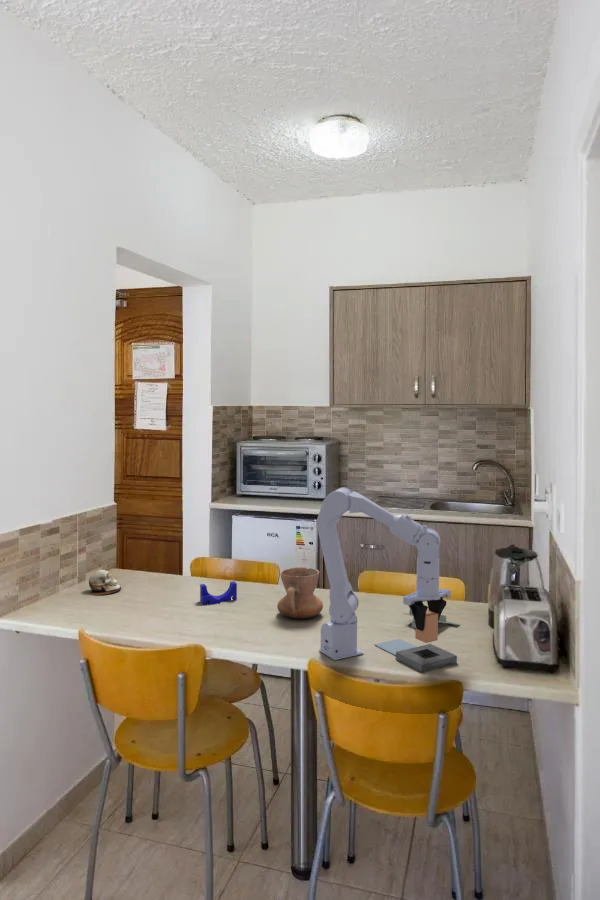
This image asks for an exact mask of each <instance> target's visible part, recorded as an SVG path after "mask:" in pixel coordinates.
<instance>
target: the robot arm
mask: <svg viewBox="0 0 600 900" xmlns="http://www.w3.org/2000/svg"><path fill="white" fill-rule="evenodd" d="M348 511H349V514H355V513H356V514H357V513H363V514H364V515H366V516H368V517H370V518H372V519H374V520H376V521H378V522H380V523H382V524H384V525H386V526H387V527H389V530H390V533H391V534H392V535H394V536H396V537H397V538H399V539H401V540H403V541H404V542H406V543H408V544H410V545H411V546H415V547H416V549H417V559H416V583H415V584H416V585H415V588H416V590H415V592H412V593H409V594H407V595H404V596H403V600H402V601H403V602H402V603H403V605H404V606H405V605H406V606H408V607H409V610H410V609H411V611H412V614H413V616H412V617H414V620H415V624H416V629H418V630H420V631H423V630H424V625H425V615H426V611H427V610H430V611H432V612H435V613H437V614H438V623H440V622H439V618H440V615H442V612H443V611H444V609H445V608H446V606H447V600H445V598H446V599H450V598H451V594H452V593H451V590H450V589H446V588H442V589H440V561H441V560H440V551H439V550H440V544H441V537H440V534H439V533H438V532H437V531H436V530H435V529H434V528H432V527H428V526H427V525H426V524H423V525H422V524H421V523H419V522H417V521H415V520H413V519H412V516H411V515H409V514H408V513H407V514H406V515H404V514H397V515H394V514H393V513H391V512H390V511H388V510H387V509H386V508H384V507H382V506H380V505H379V504H377V503H375V502H374V501H372V500H370V499H369V498H368V497H366V496H364V495H362V494H361V493H359V492H356V491H352V490H351V489H350V488H348V487H344V486H343V487H342V486H341V487H339V488H337V489H336V490H333V491H331V492H330V493H328V494H327V496H325V497H324V499H323V501H321V507H320V510H319V513H318V515H317V519H316V522H315V523H316V528H317V533H318V537H319V541H320V546H321V547H320V548H321V550H322V551H321V552H322V555H323V559H324V565H325V569H326V573H327V578H328V581H329V582H328V583H329V587H330V588H329V600H330V601H329V603H330V604H329V609H328V613H329V616H330V619H329V620H328V621H327V622H324V623H323V624H322V625H321V626H320V648H319V649H318V651H319V652H321V653H322V654H324V655H325V656H327V657H329V658H330V659H332V660H334V661H337V660H341V659H348V658H350V657H354V656H355V657H356V656H360V655H363V654H364V651H363V650H361V649H359V648H358V617H357V615H356V613H355V612H356V611H357V609H358V607H359V598H358V596H357V595H356V594H355V592H354V590H353V587H352V584H351V583H350V582H349V579H348V573H347V569H346V564H345V561H344V556H343V552H342V546H341V543H340V538H339V533H338V529H337V528H338V527H337V524H338V522H339V521H340V519H341V518H342V517H343V515H344V514H345V513H347V512H348ZM423 602H426V603H427V605H425V603H423ZM416 629H415V630H416Z"/></svg>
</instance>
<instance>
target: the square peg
mask: <svg viewBox="0 0 600 900" xmlns="http://www.w3.org/2000/svg"><path fill="white" fill-rule="evenodd" d="M438 626H439V622H438V614H437V613H435V612H432V611H430V610H429V609H427V611H426V615H425V625H424V630H423V631H420V630H418V629H415V632H414V633H415V635H414V636H415V637H414V639H416V640H418V641H420V642H422V643H425V644H427V643H429V644H430V643H432V642H436V641H438V639H439V637H438V633H439V627H438Z"/></svg>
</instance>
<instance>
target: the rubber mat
mask: <svg viewBox="0 0 600 900" xmlns="http://www.w3.org/2000/svg"><path fill="white" fill-rule="evenodd" d="M374 646H375V647H377V648H379V649H381V650H383V651H385V652H387V653H389V654H390V655H393V656H395V657H396V652H398V651H402V650H406V649H410V648H415V647H417V645H414V644H412V643H409V642H408V641H406V640H403V639H401V638H397V639H392V640H387V641H383V642H378V643H375V644H374Z"/></svg>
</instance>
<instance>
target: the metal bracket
mask: <svg viewBox="0 0 600 900" xmlns="http://www.w3.org/2000/svg"><path fill="white" fill-rule="evenodd" d="M403 614H404V615H407V616H412V617H413V618H412V623H411V629H414V628H416V624H415V620H414V616H413V614H412V611H411V609H410V608H409V612H408V613H407V612H404V613H403ZM438 623H443V624H450V625H453V626H454V625H455V626H461V624H460V623H457V622H456V623H455V622H452V621H448V620H447V615H444V614H441V615H440V618H439V622H438Z"/></svg>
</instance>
